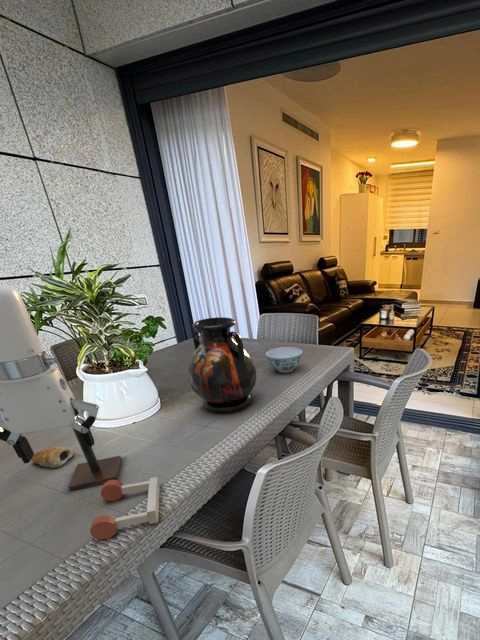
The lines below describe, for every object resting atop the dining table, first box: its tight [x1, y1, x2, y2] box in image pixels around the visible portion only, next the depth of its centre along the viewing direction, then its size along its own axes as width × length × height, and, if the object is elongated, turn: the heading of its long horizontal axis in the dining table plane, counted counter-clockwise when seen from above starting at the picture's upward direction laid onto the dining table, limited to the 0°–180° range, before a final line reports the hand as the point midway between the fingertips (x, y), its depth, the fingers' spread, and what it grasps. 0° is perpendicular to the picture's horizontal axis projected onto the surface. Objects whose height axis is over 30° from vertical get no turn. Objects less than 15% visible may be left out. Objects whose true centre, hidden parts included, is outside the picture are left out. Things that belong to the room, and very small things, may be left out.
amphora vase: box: [188, 316, 258, 414], centre depth 114 cm, size 22×22×28 cm
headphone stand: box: [68, 428, 123, 492], centre depth 84 cm, size 10×10×14 cm
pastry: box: [31, 446, 74, 469], centre depth 93 cm, size 9×7×4 cm
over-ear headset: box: [89, 476, 161, 540], centre depth 75 cm, size 4×14×12 cm
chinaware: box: [265, 346, 303, 374], centre depth 147 cm, size 15×15×8 cm
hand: (60, 453), depth 65 cm, fingers open, 9 cm apart
